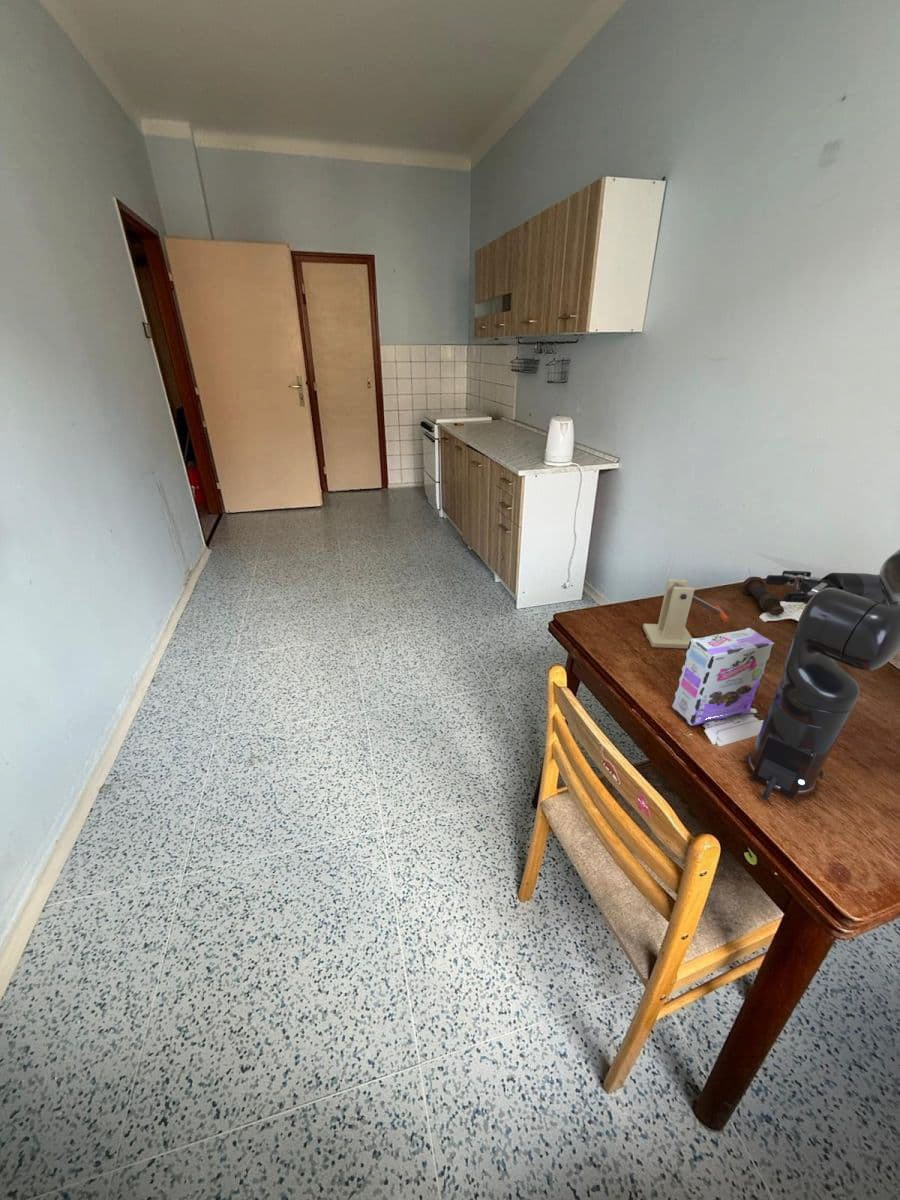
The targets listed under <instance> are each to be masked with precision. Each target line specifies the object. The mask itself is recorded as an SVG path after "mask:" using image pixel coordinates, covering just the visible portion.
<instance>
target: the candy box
mask: <svg viewBox="0 0 900 1200" xmlns="http://www.w3.org/2000/svg"><path fill="white" fill-rule="evenodd" d="M692 638H693V639H690V642H689V646H688V649H687V650H686V653H685V656H684V661H683V664H682V668H681V671H680V675H679V679H678V682H677V686H676V689H675V691H674V692H675V693H674V696H673V700H672V702H671V708H672V709H673V710H674V711H675V712H676V713H677V714H678V715H679V716H680V717H681V718H682V719H683V720H684V721H685V722H686V723H687V724H689V725H690V726H691V727H692V726H696V725H701V724H705V723H709V722H714V721H717V720H722V719H726V718H731V717H735V716H738V715H743V714H747V713H750V711H751V709H752V706H753V703H754V700H755V698H756V695H757V694H758V693H757V692H758V690H759V687H760V684H761V681H762V679H763V676H764V673H765V670H766V667H767V665H768V662H769V659H770V656H771V654H772V651H773V649H774V646H775V642H773V641H772V640H770V639H769V638H767V637H765V636H764V635H762V634H760V632H758V631H756V630H754V629H752V628H751V627H746V628H744V629H739V630H733V631H729V632H728V631H727V632H722V633H717V634H712V635H706V636H701V637H697V638H695V637H692ZM726 714H727V715H726ZM720 715H723V716H720ZM714 716H719V717H715V718H711V719H707V720H705V719H706V718H708V717H714Z"/></svg>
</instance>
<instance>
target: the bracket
mask: <svg viewBox="0 0 900 1200" xmlns="http://www.w3.org/2000/svg"><path fill="white" fill-rule="evenodd" d="M676 582H677V583H679V584H681V585H683V586H684V587H673V586H674V585H675V583H676ZM672 587H673V591H672V593H671V591H670V589H671V588H672ZM695 590H696V589H695V588H694V587H693V586H689V580H688V579H677V578H676V579H675V578H668V579H667V581H666V587H665V590H664V596H663V599H662V605H661V609H660V614H659V618H658V622H657V623H642V630H643V631H644V633H645V635H646V638H647V639H648V641H649V644H650V645H651V647H652V648H662V649H663V648H664V649H665V648H666V649H688V646H689V642H690V639H693V638H694V637H693V636H692V635H691V632H689V630H688V629H687V627H686V625H687V621H688V617H689V613H690V609H691V605H692V602H693V601H692V598H693V596H694V594H695Z"/></svg>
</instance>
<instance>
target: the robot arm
mask: <svg viewBox="0 0 900 1200" xmlns="http://www.w3.org/2000/svg"><path fill="white" fill-rule="evenodd" d="M799 583H800V584H799ZM764 584H766V585H768V586H786V587H789V588H790V587H791V589H792V590H794V591H787V592H786V593H784V597H783V601H784V602H786V603H803V604H804V605H805V606H804V608H803V610H802V612H801V615H800V617H799V619H798V621H797V624H796V627H795V631H794V634H793V637H792V641H791V644H790V648H789V651H788V653H787V655H786V656H787V657H786V659H785V662H784V665H783V668H782V674H781V676H780V679H779V682H778V684H777V687H776V690H775V692H774V695H773V697H772V699H771V702H770V704H769V706H768V709H767V712H766V715H765V717H764V720H763V723H762V725H761V727H760V730H759V732H758V735H757V737H756V739H755V741H754V746H753V748H752V750H751V751H750V753H749V756H748V759H747V765H748V769H749V770H750V772H751V779H753V780H755V781H757V782H759V783H761V784H763V785H765V786H766V787H765V789H764V791H763V793H762V795H761V798H762V800H764V801H768V800H769V798H770V796H771V794H772V792H773V790H774V791H776V792H778V793H780V794H782V795H784V796H785V797H788V798H789V799H791V800H795V799H796V797H798V796H805V795H808V794H810V793H811V792H813V790H814V788H815V787H816V784H817V780H818V778H819V779H820V780H822V778H823V776H824V773H825V772H824V771H823V769H824V767H825V765H826V763H827V760H828V758H829V757H830V755H831V753H832V750H833V749H834V747H835V744H836V743H837V741H838V739H839V737H840V735H841V733H842V731H843V729H844V727H845V725H846V723H847V721H848V719H849V718H850V715H851V714H852V711H853V709H854V707H855V706H856V704H857V702H858V700H859V697H860V691H861V690H860V686H859V684H858V682H857V681H856V680H855V678H854V677H852V676H851V675H850V674H849V672H848V671H846V670H845V669H844V668H842V667H841V666H840V665H839V664H838V662H839V663H841V664H844V665H846V666H848V667H851V668H854V669H857V670H860V671H866V672H870V671H872V672H873V671H876V670H878V669H880V668H881V667H883V666H885V665H886V664H887V663H889V662H890V661H891V660H892V659H893V658H894V657H895V656H896V655H897V654H898V653H899V652H900V548H899V549H897V550H896V551H895V552H893V553H892V554H891V555H890V556H889V557H887V559H885V561H884V562H883V564H882V565H881V567H880V570H879V574H872V573H867V572H866V573H864V572H831V573H828V574H826V575H825V576H824V577H822V578H820V577H816V576H812V572H811V571H807V570H806V571H805V570H804V571H802V570H783V571H782V574H769V575H767V576H766V579H765V582H764ZM799 585H800V586H799ZM836 661H837V662H836Z"/></svg>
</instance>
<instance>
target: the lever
mask: <svg viewBox="0 0 900 1200" xmlns="http://www.w3.org/2000/svg"><path fill="white" fill-rule="evenodd" d="M673 587H684V586H683V585H681V584H679V583H677V582H676V583H675V585H674V586H673ZM673 587H672V588H671V589H670V591H671V593H672V591H673ZM692 602H694V603H696V604H697V605H699V606H701V607H703V608H705V610H708V611H710V612H713V614H716V615H717V616H719V617H720V619H721V620H722V621H723V622H724V623H728V622H729V620H730V618H729V617H728V616H727V615H726V613H725V612H724V611H723V610H722V608H721V607H720V606H719V605H717V604H716V605H713V604H710V603H708V602H706V601H705V600H702V599H701V598H699V597H697V596H695V595H693V598H692Z"/></svg>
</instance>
